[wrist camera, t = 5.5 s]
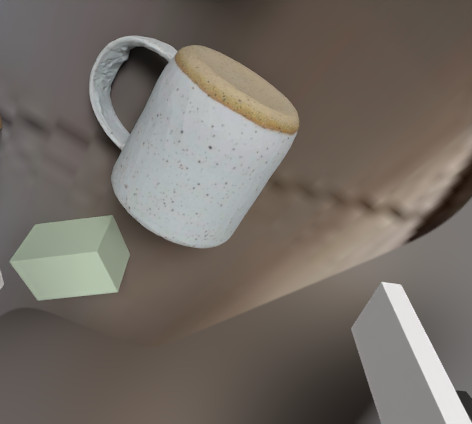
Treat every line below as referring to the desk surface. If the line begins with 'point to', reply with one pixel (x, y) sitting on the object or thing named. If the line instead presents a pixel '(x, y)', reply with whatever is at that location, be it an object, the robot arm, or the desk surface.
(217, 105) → the ceramic mug
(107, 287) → the sage green block
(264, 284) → the desk surface
